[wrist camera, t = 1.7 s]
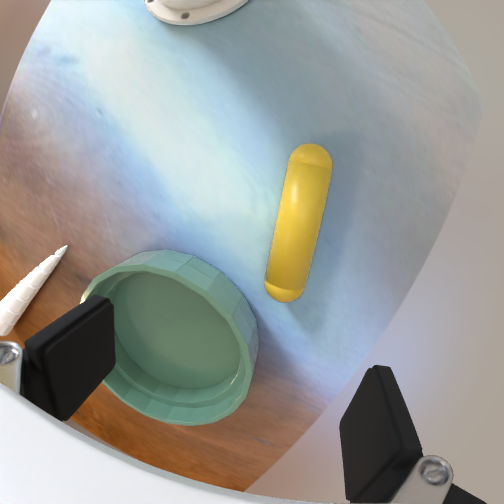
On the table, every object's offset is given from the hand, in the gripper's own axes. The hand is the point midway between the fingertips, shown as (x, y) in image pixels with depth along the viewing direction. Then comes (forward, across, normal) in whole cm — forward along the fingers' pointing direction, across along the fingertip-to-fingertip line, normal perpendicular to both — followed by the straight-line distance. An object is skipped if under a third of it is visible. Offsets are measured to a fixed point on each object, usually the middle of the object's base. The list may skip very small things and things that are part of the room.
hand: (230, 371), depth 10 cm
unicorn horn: (+18, +32, +14) cm, 39 cm away
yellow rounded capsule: (+18, -2, -3) cm, 18 cm away
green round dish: (+18, +8, +11) cm, 23 cm away
